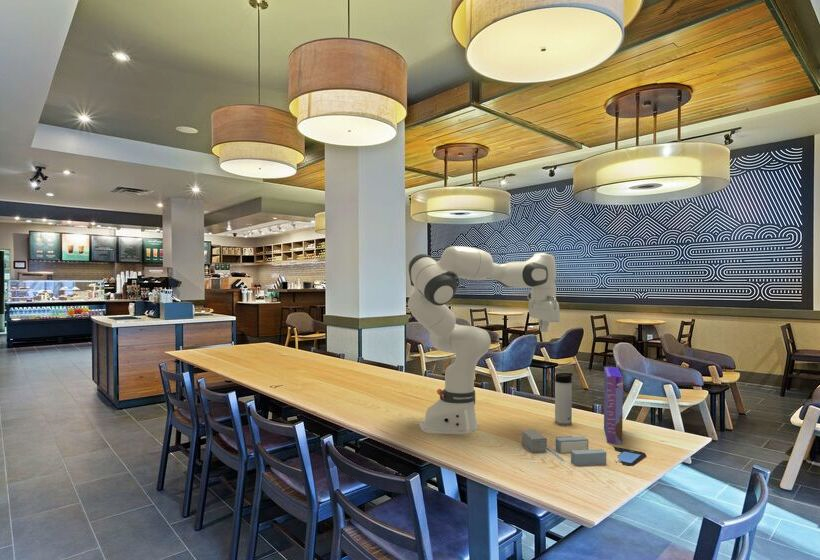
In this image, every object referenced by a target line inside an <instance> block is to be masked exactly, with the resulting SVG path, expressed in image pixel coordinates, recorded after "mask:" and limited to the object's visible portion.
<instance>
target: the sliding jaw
mask: <svg viewBox="0 0 820 560" xmlns="http://www.w3.org/2000/svg"><path fill="white" fill-rule="evenodd" d="M555 450H556V451H557V452H558V453H563V454H565V453H571V451H573V450H589V439H588V438H587V437H586V436H585V435H584V436H573V435H572V436H556V437H555Z"/></svg>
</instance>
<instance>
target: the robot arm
mask: <svg viewBox="0 0 820 560" xmlns="http://www.w3.org/2000/svg"><path fill="white" fill-rule="evenodd" d="M408 274H409V280H410V285H411V286H413V287H414V292H413V293H412V294H411V295H410V296H409V298H408V299H407V307H408V310H409V312H410V313H411V314H412V316H413V317H414V318H415V320H416V321H417V322H418V323H419V324H420V325H421V326H422V327H424V329H426V330H427V331H428V332H429V340H430V345H431V346H432V347H433V348H434V349H436V350H439V351H441V352H444V353H450V354H455V360H454V362H453V363H451V364H449V365H448V366H446V368H445V371H444V389H443V390H442V389H441V388H438V389H436V393H437V395H439V399H438V400H437V401H436V402H434V403H433V404H431V406H428V408H427V410H426V411H425V417H424V419H421V420H420V421H419V423H418V426H419V429H420V430H421V431H422V432H423V433H426V434H437V435H438V434H440V435H442V434H443V435H444V434H445V435H469V434H470V433H472V432H475V431H477V430H478V429H479V423H478V421H477V417H476V409H475V408H476V407H475V405H476V390H475V371H476V367H477V365H478V362H479V360H480V359H481V358H482V357H483V356H485V355H486V354H487V353H488V352H489V350H490V348H491V344H492V341H491V336H490V333H489V332H488V331H487V330H486V329H484V328H481V327H477V326H473V325H463V324H457V322H456V320H457V319H456V315H455V313H454V312H453V311H452V310H451V309H450V308H449V307H448V306H447V305H446V304H447V303H449V302H450V301H451V300H452V299H453V298H454V296H455V294H456V292H457V290H458V289H457V288H458V287H459V285H460V280H459V279H464V280H469V281H485V280H487V279H488V280H493V281H495V282H497V283H499V284H500V285H501V286H502V287H505V288H531V291H530V292H529V293H527V300H528V314H529V317H530V318H532V319H537V320H538V324H539V331H540V332H543V333H548V328H549V326H550V323H559V322H560V319H561V313H560V311H561V310H560V304H559V302H558V300H557V286H556V278H557V268H556V260H555V257H554V255H553V254H551V253H548V252H547V253H546V252H536V253H533V256H532V257H530V258H529V259H527V260H525V261H505V262H502V263H496V262H494V260H493V257H492V254H491V253H489V252H487V251H485V250H483V249H481V248H477V247H476V248H475V247H471V246H464V245H452V246H448V247H446V248H445V249H444V251H442V254H441V256H440V259H439V260H438V261H437V260H436V259H435V258H434V257H433V256H431V255H429V254H425V253H421V254H418V255H415V256H414V257H412V258H411V260H410V261H409V263H408Z"/></svg>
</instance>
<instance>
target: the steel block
mask: <svg viewBox="0 0 820 560" xmlns="http://www.w3.org/2000/svg"><path fill="white" fill-rule="evenodd" d="M547 439H548V438H547V437H546V436H545V435H543V434H542V433H540V432H539V431H538V430H537V429H526V430H525V429H524V430H521V446H523V447H525V449H527V450H528V451H529V452H531V453H532V454H536V453H537V454H538V453H547V450H548V449H547V448H548V447H547V445H548V444H547V441H548V440H547Z"/></svg>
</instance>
